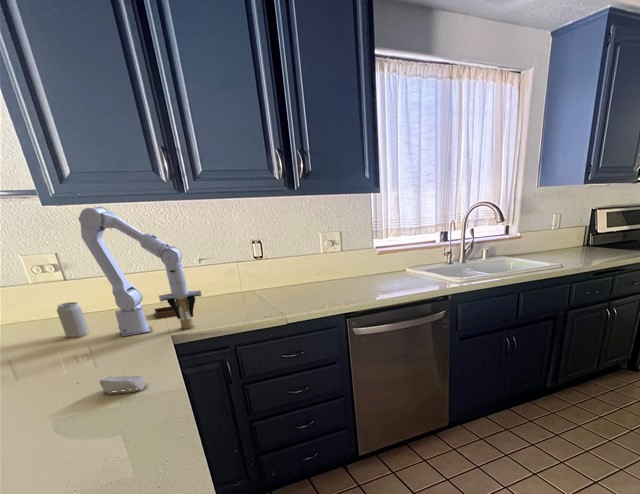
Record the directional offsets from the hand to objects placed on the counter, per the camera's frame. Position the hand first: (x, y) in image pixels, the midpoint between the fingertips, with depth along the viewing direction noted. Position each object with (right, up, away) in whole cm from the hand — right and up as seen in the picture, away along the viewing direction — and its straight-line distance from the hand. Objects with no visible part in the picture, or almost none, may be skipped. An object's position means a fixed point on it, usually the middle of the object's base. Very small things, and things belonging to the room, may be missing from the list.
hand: (185, 317), depth 164 cm
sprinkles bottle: (0, -4, +2) cm, 4 cm away
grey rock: (+6, -27, -48) cm, 56 cm away
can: (-39, -7, -3) cm, 40 cm away
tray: (-16, +5, +21) cm, 27 cm away
